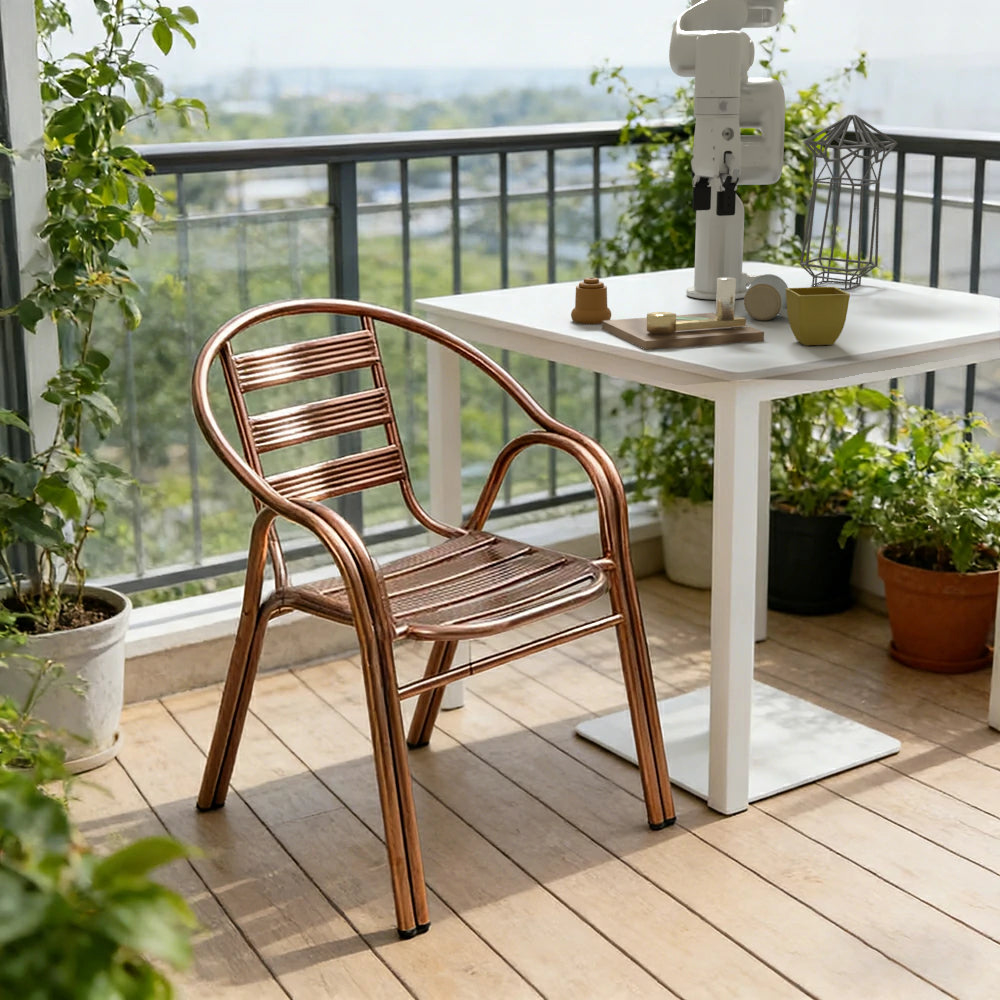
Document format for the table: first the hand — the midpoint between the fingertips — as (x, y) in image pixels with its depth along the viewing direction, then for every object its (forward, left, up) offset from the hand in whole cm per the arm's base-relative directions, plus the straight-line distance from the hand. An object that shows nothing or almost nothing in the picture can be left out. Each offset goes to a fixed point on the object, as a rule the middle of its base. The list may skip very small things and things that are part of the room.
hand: (713, 212), depth 242 cm
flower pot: (-14, +12, -22) cm, 28 cm away
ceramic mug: (-18, -11, -22) cm, 31 cm away
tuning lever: (+4, +2, -19) cm, 20 cm away
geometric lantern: (-49, -39, -22) cm, 66 cm away
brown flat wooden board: (+4, -3, -21) cm, 22 cm away
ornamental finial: (+14, -21, -22) cm, 33 cm away
